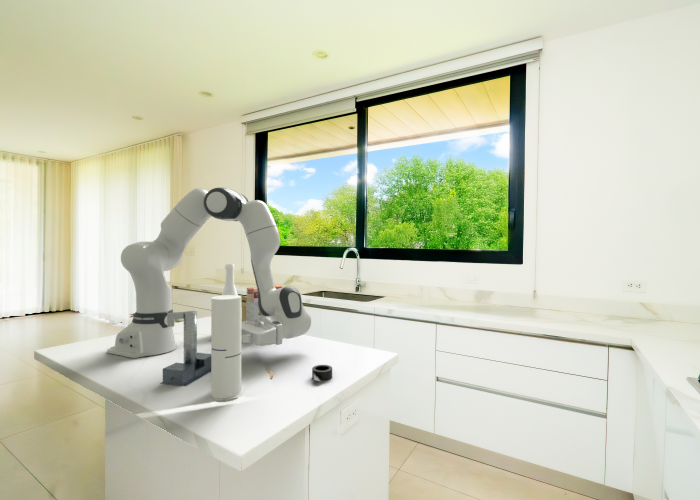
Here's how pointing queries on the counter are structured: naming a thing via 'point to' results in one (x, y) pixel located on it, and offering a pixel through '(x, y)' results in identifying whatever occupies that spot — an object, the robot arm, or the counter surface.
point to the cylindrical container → (225, 346)
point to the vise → (187, 371)
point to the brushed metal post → (187, 334)
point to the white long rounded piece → (230, 282)
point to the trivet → (270, 373)
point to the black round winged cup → (322, 373)
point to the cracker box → (254, 304)
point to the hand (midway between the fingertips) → (228, 336)
